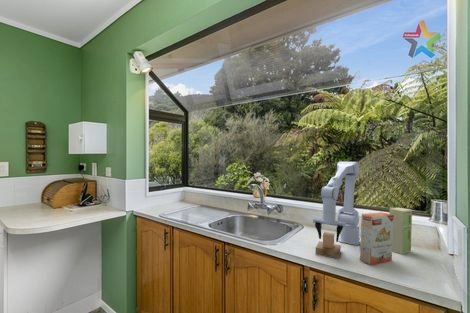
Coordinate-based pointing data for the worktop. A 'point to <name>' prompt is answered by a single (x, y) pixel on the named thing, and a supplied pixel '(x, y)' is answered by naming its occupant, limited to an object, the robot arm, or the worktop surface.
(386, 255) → the cracker box
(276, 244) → the worktop surface
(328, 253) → the walnut block
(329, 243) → the tan block
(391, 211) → the toy refrigerator
